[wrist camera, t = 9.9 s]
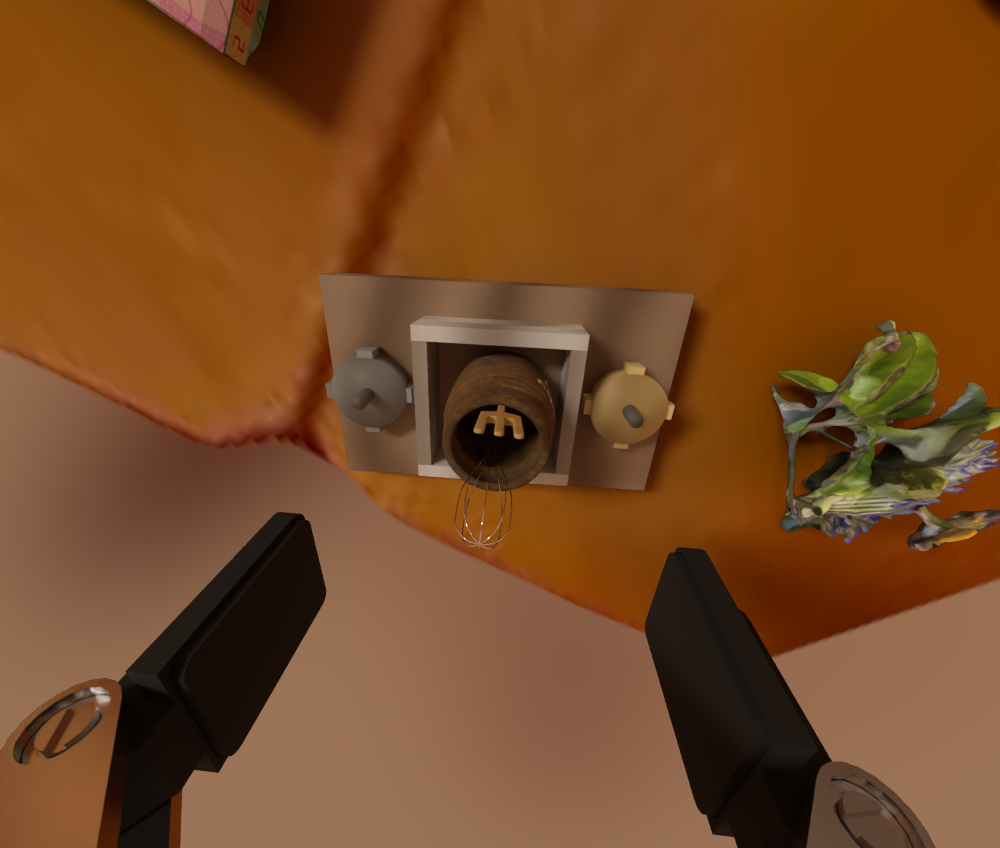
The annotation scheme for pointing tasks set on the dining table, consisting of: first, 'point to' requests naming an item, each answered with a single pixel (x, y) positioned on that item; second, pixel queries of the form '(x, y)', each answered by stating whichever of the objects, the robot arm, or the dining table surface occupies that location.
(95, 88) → the dining table surface
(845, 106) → the dining table surface
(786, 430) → the passion flower
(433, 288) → the gear board
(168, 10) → the puzzle game
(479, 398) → the utensil holder
